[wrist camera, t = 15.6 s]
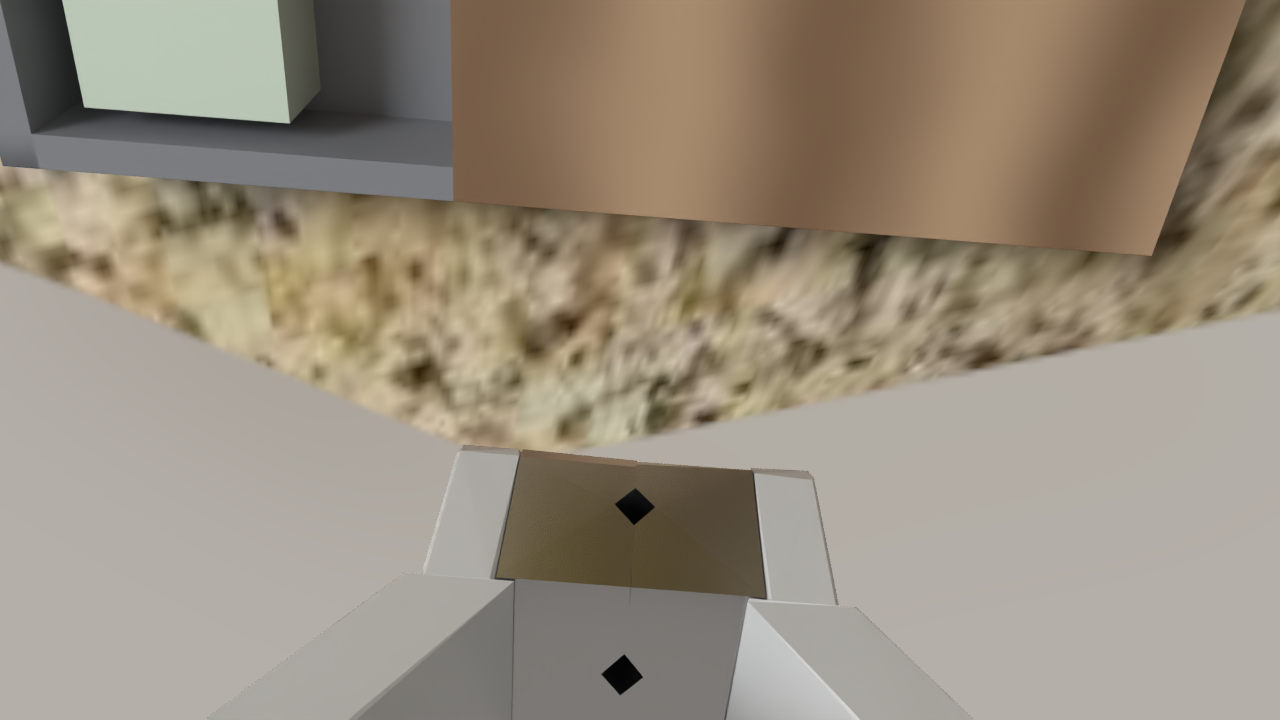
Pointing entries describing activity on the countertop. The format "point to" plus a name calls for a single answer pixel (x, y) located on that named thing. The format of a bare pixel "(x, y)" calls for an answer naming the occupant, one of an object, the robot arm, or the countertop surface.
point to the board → (841, 112)
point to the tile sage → (196, 56)
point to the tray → (244, 149)
